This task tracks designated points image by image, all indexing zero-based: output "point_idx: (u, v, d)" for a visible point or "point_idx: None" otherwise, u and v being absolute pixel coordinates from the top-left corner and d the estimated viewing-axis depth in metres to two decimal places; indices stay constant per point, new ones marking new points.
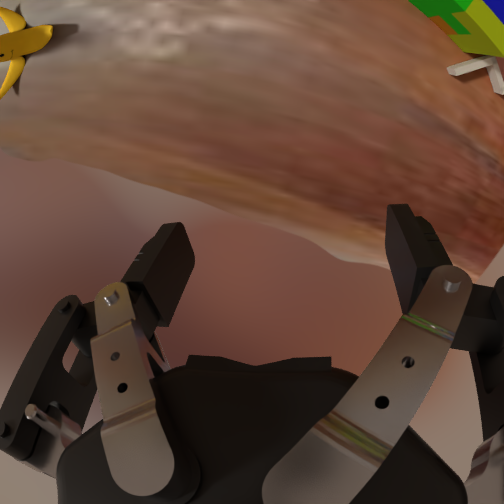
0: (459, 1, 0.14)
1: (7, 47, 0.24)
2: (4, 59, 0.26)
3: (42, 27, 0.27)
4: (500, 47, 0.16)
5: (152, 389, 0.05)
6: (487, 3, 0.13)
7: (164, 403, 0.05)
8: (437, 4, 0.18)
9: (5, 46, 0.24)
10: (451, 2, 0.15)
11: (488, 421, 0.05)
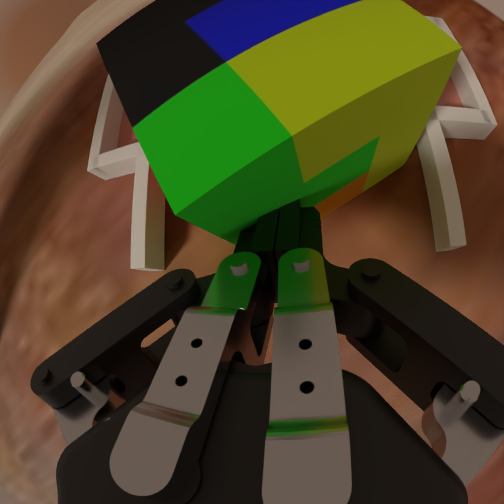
0: (242, 145, 0.07)
1: None
2: None
3: None
4: (431, 47, 0.06)
5: (206, 402, 0.05)
6: (262, 33, 0.07)
7: (213, 415, 0.05)
8: None
9: None
10: (251, 180, 0.08)
11: (414, 392, 0.06)
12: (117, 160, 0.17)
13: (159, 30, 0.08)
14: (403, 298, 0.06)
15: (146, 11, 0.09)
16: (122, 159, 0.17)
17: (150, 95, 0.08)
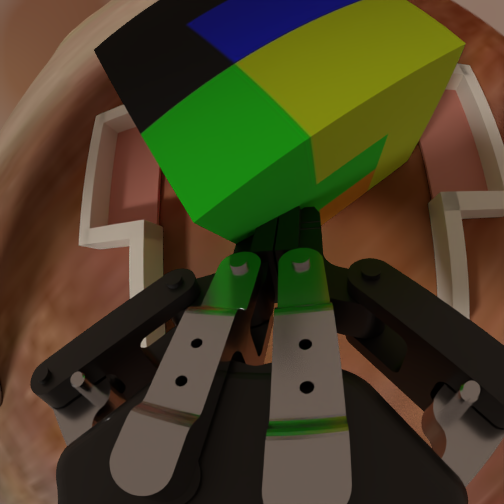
0: (260, 148, 0.07)
1: None
2: None
3: None
4: (436, 44, 0.06)
5: (206, 402, 0.05)
6: (269, 34, 0.07)
7: (213, 416, 0.05)
8: None
9: None
10: (269, 183, 0.07)
11: (414, 392, 0.06)
12: (109, 240, 0.17)
13: (160, 33, 0.08)
14: (403, 298, 0.06)
15: (145, 15, 0.09)
16: (114, 239, 0.17)
17: (156, 99, 0.08)
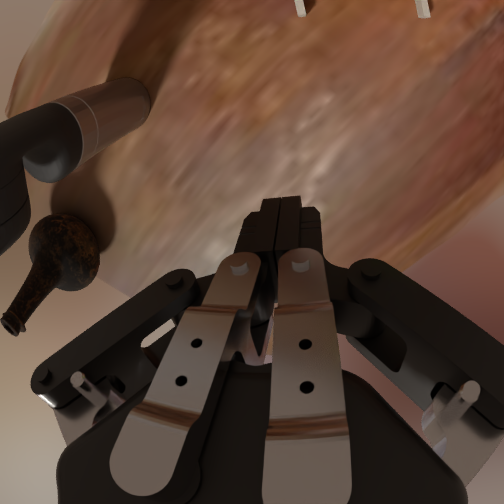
0: None
1: None
2: None
3: None
4: None
5: (206, 402, 0.05)
6: None
7: (213, 416, 0.05)
8: None
9: None
10: None
11: (414, 392, 0.06)
12: None
13: None
14: (403, 298, 0.06)
15: None
16: None
17: None
